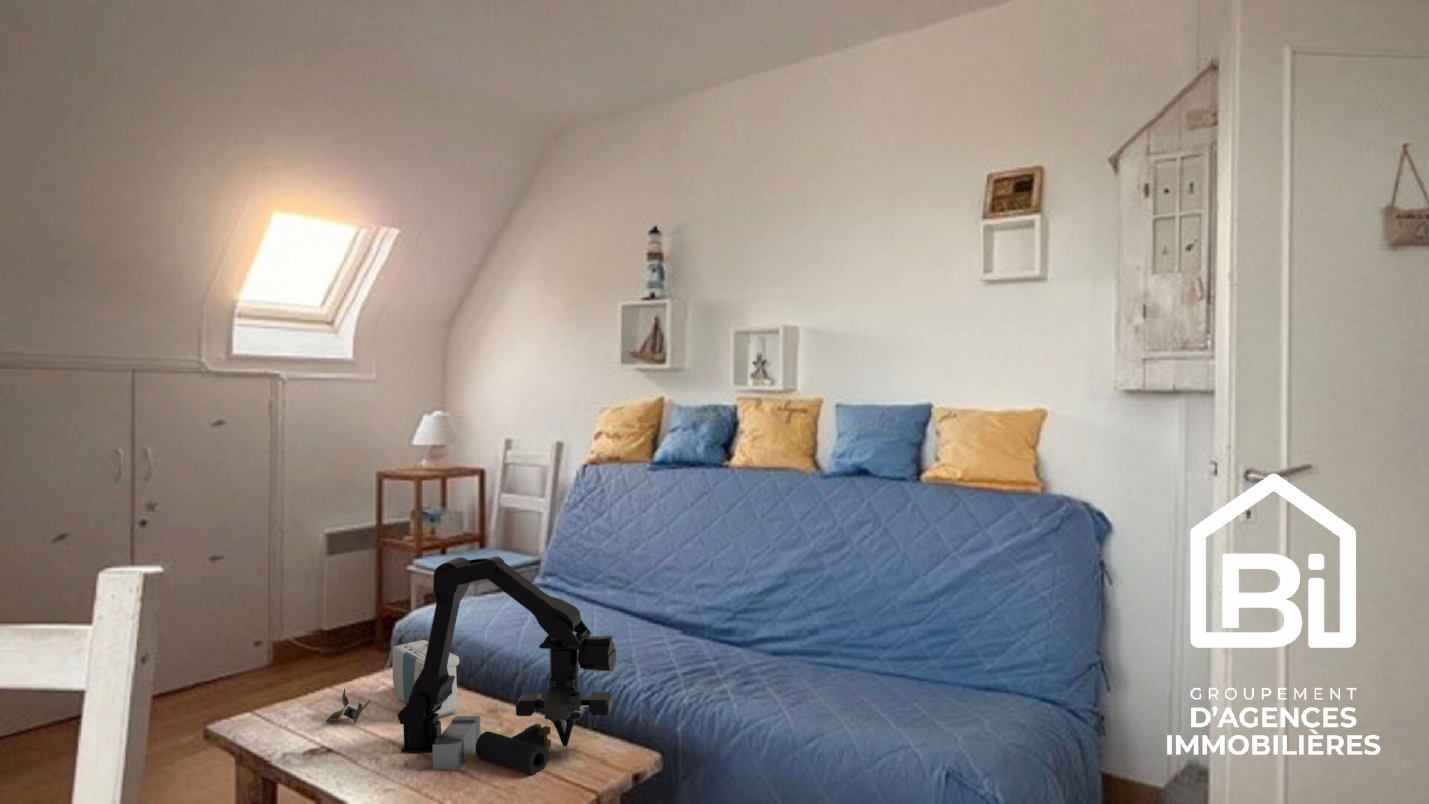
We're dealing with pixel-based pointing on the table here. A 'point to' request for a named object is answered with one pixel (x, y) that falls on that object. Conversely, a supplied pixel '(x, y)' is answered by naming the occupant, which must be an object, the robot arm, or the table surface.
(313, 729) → the table surface
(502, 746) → the pipe connector
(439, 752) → the grey stepped block
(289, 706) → the table surface
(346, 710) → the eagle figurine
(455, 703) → the stereo radio cassette player
